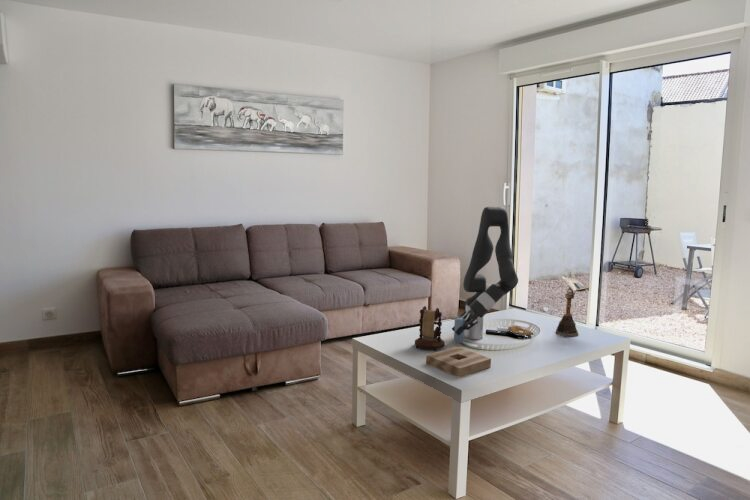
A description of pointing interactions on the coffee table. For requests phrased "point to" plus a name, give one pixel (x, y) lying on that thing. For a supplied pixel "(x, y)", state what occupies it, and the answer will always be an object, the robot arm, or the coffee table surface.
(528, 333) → the decorative rock
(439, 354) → the socket block
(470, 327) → the robot arm
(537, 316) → the coffee table surface
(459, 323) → the peg
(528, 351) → the coffee table surface
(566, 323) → the bird statue
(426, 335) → the scroll
